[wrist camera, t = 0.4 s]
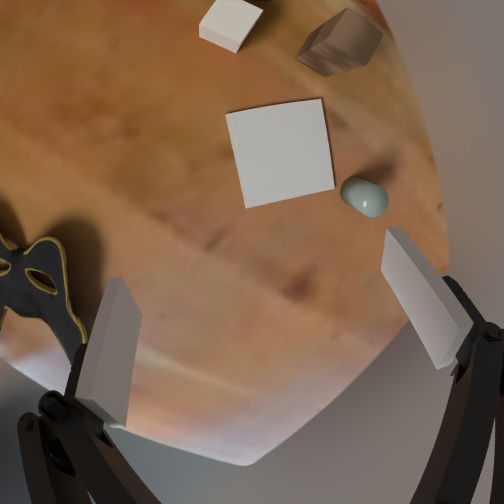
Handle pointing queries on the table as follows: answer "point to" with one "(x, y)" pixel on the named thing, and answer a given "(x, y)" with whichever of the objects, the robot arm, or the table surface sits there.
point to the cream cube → (229, 23)
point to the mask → (41, 290)
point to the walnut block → (340, 44)
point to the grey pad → (281, 151)
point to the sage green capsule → (364, 196)
